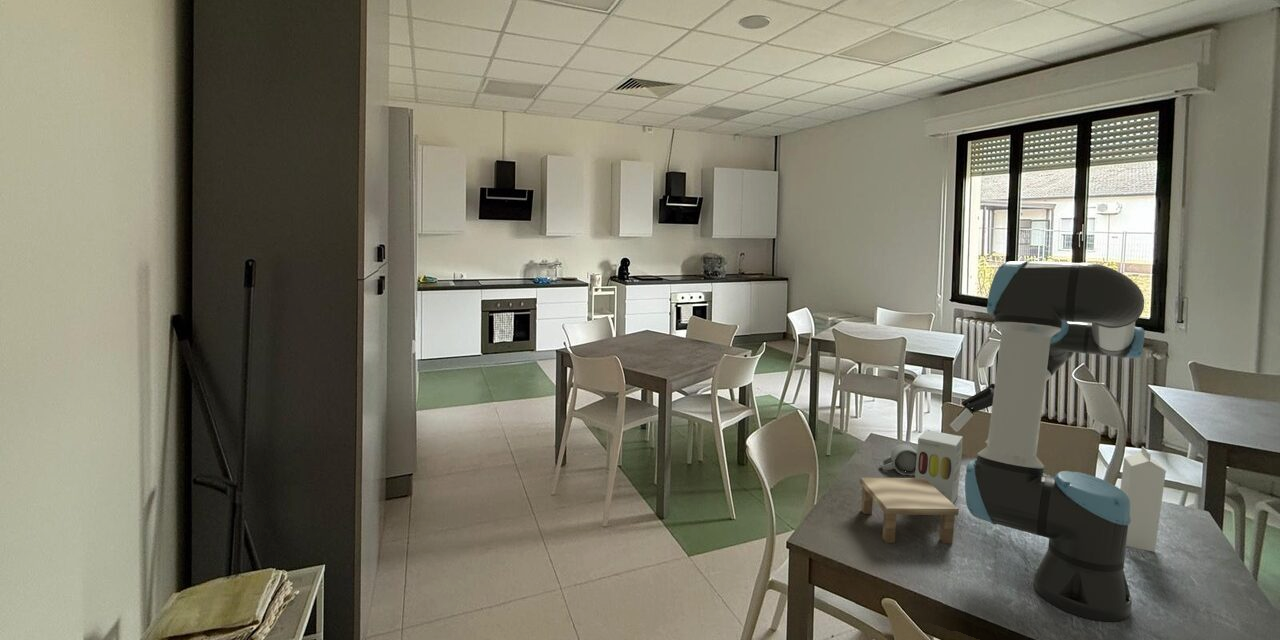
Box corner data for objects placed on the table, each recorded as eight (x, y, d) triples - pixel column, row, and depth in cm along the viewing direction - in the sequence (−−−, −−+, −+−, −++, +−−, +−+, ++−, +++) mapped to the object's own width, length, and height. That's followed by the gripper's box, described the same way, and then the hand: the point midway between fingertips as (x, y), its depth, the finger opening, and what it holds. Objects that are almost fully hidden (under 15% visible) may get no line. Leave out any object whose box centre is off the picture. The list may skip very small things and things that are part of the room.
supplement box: (911, 498, 159) (916, 437, 156) (920, 487, 166) (924, 428, 163) (952, 508, 153) (957, 445, 150) (958, 496, 160) (963, 435, 158)
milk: (1121, 546, 135) (1132, 452, 132) (1114, 534, 140) (1124, 443, 137) (1156, 552, 132) (1168, 456, 129) (1147, 539, 137) (1158, 447, 134)
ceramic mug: (915, 466, 180) (916, 441, 179) (921, 477, 173) (922, 451, 172) (877, 463, 183) (878, 439, 182) (882, 474, 175) (883, 449, 174)
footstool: (955, 544, 135) (958, 508, 134) (884, 543, 135) (886, 508, 134) (921, 510, 152) (924, 478, 151) (858, 509, 152) (860, 477, 151)
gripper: (1074, 401, 148) (1014, 463, 147) (999, 377, 172) (947, 430, 172) (1057, 381, 146) (996, 443, 146) (984, 360, 170) (932, 413, 170)
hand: (970, 436), depth 159 cm, fingers open, 13 cm apart
